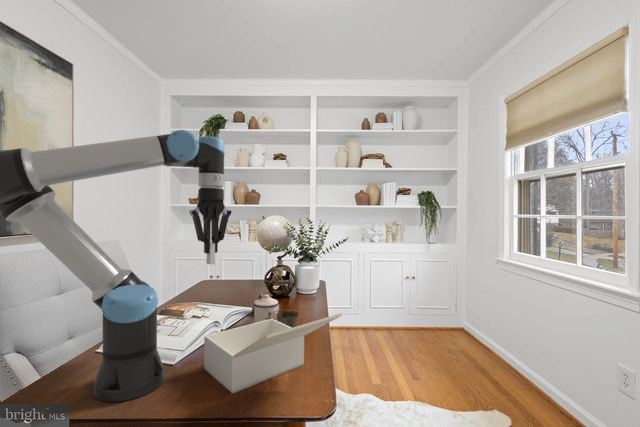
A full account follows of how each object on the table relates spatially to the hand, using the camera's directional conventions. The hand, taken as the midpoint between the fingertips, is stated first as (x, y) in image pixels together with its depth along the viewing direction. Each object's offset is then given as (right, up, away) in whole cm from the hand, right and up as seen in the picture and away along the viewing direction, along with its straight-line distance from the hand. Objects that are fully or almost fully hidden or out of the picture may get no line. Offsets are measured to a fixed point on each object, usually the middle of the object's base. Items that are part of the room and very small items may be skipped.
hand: (210, 263), depth 104 cm
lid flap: (+26, -14, -23) cm, 38 cm away
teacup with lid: (+15, -26, +21) cm, 37 cm away
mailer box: (+16, -27, -12) cm, 33 cm away
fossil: (+12, -26, +36) cm, 46 cm away
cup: (+23, -27, +11) cm, 37 cm away
